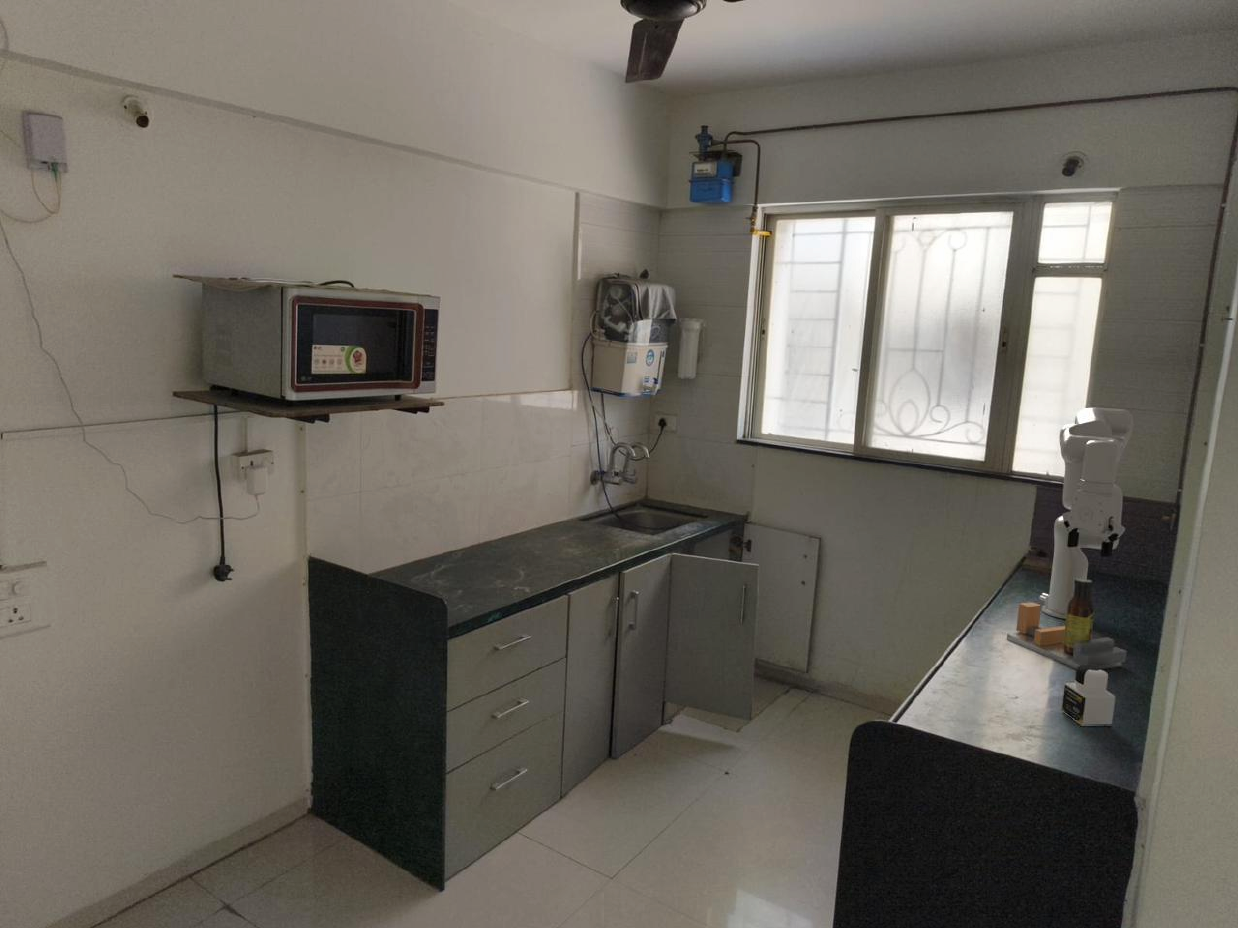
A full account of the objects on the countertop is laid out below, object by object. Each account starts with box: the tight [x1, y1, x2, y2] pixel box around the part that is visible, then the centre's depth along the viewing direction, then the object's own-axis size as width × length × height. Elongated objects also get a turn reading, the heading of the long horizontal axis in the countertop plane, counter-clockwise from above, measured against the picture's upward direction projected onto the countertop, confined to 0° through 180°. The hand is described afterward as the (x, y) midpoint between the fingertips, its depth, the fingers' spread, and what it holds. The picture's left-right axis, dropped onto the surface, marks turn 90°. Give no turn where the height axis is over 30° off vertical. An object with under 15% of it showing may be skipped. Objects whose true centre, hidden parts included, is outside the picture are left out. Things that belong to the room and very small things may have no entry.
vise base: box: [1006, 631, 1128, 670], centre depth 215 cm, size 25×14×6 cm, turn 21°
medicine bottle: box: [1061, 665, 1116, 725], centre depth 175 cm, size 7×7×12 cm
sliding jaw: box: [1015, 601, 1065, 646], centre depth 222 cm, size 11×12×8 cm
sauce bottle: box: [1063, 578, 1095, 654], centre depth 211 cm, size 6×6×20 cm
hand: (1088, 551), depth 208 cm, fingers open, 9 cm apart
